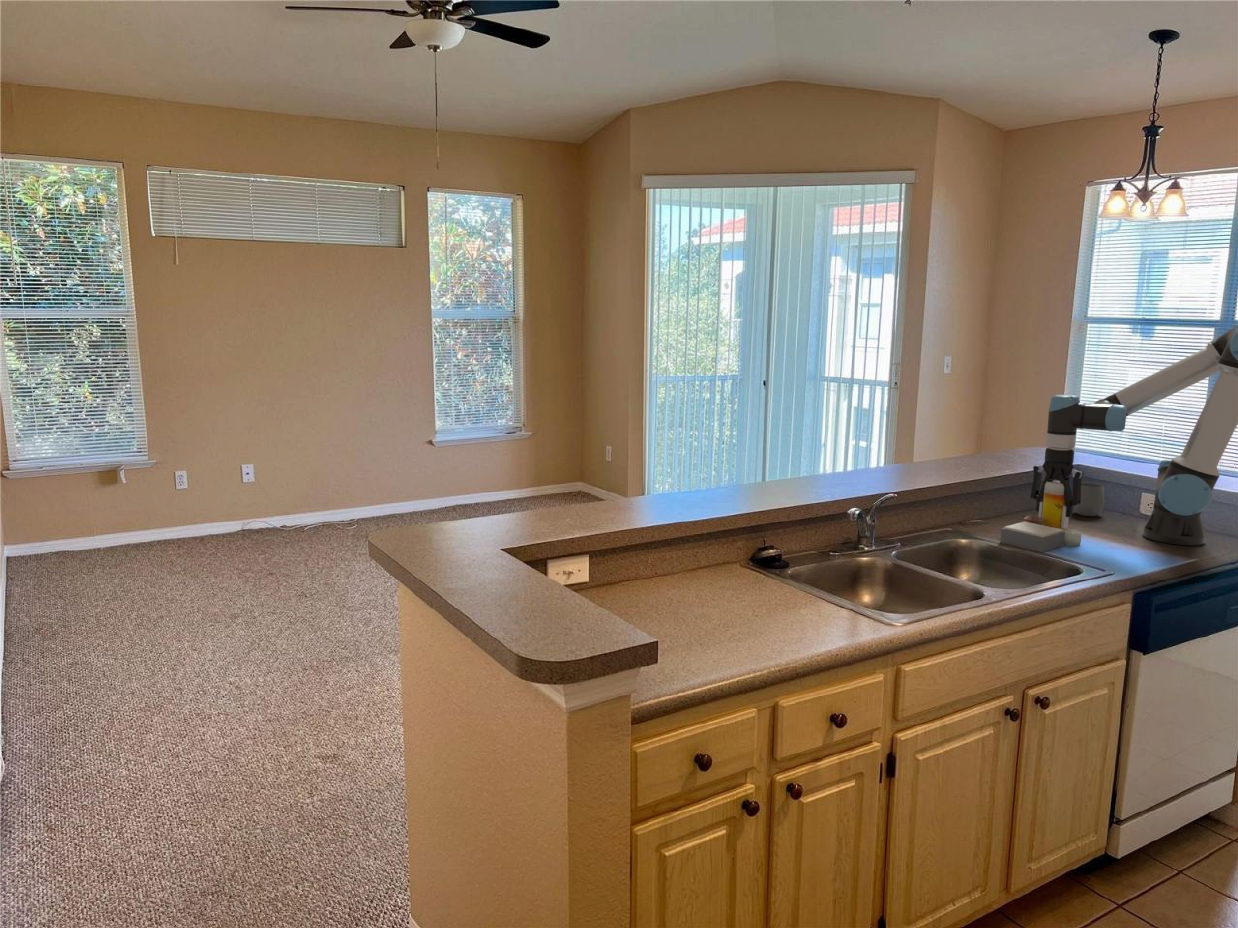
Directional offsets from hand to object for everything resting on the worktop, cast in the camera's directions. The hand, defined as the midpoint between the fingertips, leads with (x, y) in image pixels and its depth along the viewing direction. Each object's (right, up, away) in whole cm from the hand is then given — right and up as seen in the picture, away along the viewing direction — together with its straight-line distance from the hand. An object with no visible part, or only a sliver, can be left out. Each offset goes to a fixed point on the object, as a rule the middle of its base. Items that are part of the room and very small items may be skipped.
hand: (1052, 525), depth 249 cm
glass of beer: (0, -2, 0) cm, 2 cm away
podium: (-12, -4, -12) cm, 18 cm away
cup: (+24, +1, +26) cm, 35 cm away
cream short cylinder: (-1, -4, -10) cm, 11 cm away
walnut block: (-7, -3, -2) cm, 8 cm away
